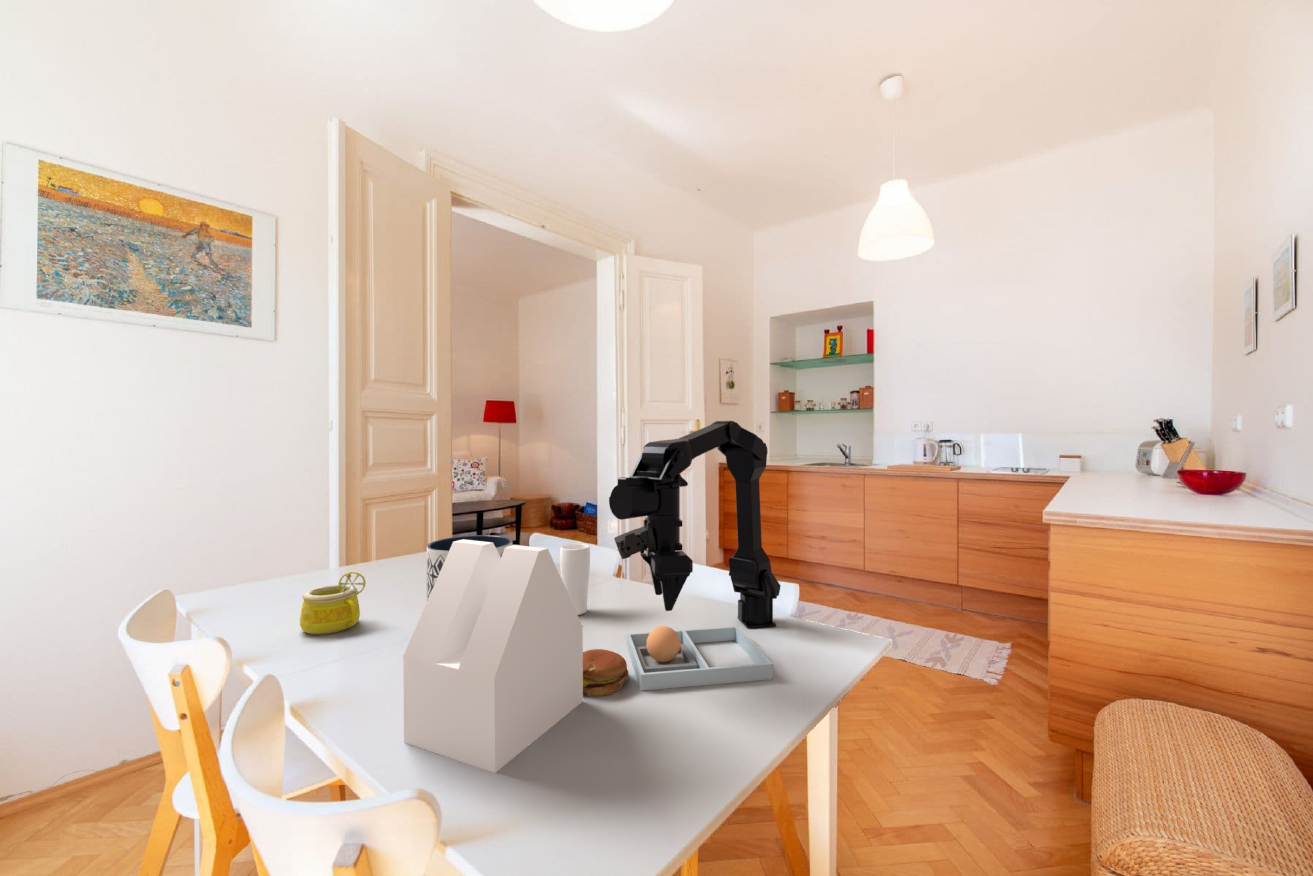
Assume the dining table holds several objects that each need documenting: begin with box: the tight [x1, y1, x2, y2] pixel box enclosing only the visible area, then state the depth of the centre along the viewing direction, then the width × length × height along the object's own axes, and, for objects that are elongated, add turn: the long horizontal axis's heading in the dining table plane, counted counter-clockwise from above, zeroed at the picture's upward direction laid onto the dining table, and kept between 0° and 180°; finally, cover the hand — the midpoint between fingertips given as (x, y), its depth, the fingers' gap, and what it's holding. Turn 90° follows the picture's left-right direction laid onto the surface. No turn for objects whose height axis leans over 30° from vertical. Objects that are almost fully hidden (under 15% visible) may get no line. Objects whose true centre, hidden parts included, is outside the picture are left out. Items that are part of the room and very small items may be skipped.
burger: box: [583, 648, 630, 698], centre depth 88 cm, size 10×9×5 cm
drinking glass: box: [559, 543, 591, 616], centre depth 123 cm, size 7×7×15 cm
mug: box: [299, 571, 367, 635], centre depth 113 cm, size 13×11×12 cm
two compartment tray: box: [626, 625, 774, 692], centre depth 96 cm, size 22×18×2 cm
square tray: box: [635, 643, 698, 673], centre depth 95 cm, size 10×10×2 cm
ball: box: [647, 625, 680, 662], centre depth 96 cm, size 6×6×6 cm
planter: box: [426, 534, 514, 602], centre depth 121 cm, size 18×18×16 cm
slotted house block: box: [402, 539, 584, 774], centre depth 77 cm, size 19×15×25 cm
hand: (663, 602), depth 95 cm, fingers open, 9 cm apart
